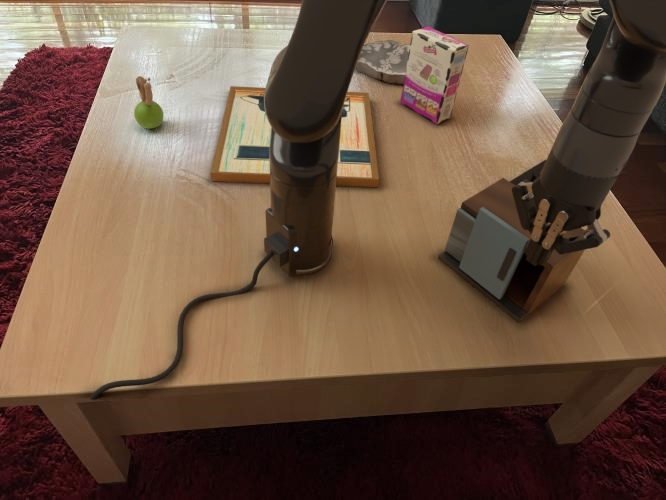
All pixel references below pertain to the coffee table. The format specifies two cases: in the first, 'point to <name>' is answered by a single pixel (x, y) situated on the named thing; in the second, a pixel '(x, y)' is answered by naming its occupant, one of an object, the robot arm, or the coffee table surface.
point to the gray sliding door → (493, 252)
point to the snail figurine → (147, 106)
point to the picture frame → (255, 132)
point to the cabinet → (527, 280)
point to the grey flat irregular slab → (384, 61)
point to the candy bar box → (433, 73)
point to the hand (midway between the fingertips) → (534, 260)
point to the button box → (529, 174)
